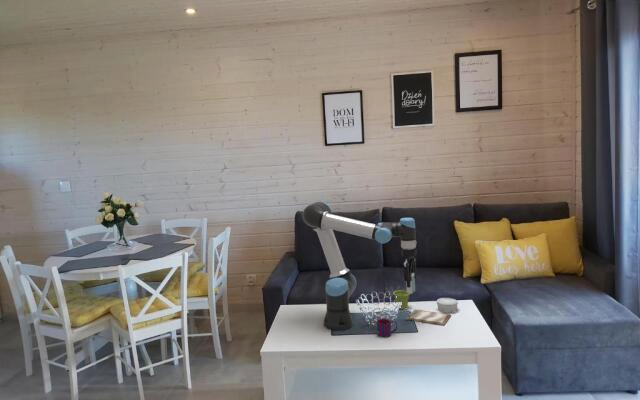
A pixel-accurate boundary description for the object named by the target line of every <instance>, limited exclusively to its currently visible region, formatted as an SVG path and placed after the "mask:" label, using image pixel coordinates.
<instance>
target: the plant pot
mask: <svg viewBox="0 0 640 400" xmlns="http://www.w3.org/2000/svg"><path fill="white" fill-rule="evenodd" d="M392 293H393V294H392V295H394V296H393V297H394V301H395V303H396V302H402V305H401V308H400V309H399V310H406V309H408V307H409V298H410V295H411V293H407V291H406V290H395V291H393V292H392ZM396 296H397V298H396Z"/></svg>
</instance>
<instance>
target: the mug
mask: <svg viewBox="0 0 640 400" xmlns="http://www.w3.org/2000/svg"><path fill="white" fill-rule="evenodd" d="M394 323H395V325H396V327H395V328H394V329H392V324H394ZM397 329H398V322H397V321H391V320H390V319H388V318H379V319H378V320H376V335H377V336H378V337H379V338H389V337H390V336H392V333H394V332H396V331H397Z"/></svg>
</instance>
